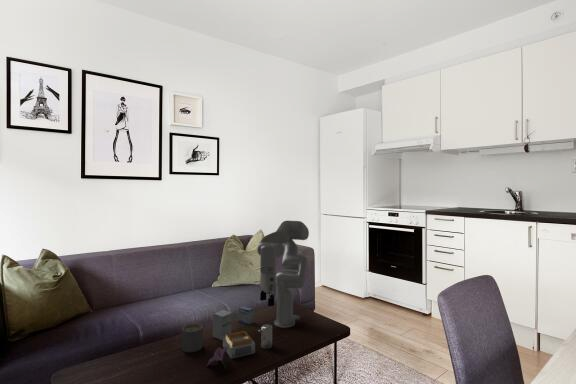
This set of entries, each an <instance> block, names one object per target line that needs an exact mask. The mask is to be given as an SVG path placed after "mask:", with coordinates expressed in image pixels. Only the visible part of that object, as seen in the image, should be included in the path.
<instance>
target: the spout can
mask: <svg viewBox="0 0 576 384" xmlns="http://www.w3.org/2000/svg"><path fill="white" fill-rule="evenodd" d="M257 332H258V333H260V335H261V336H260V337H261V339H260V340H261V341H260V342H261V343H260V347H261V348H262V349H264V350H269V349H271V348H272V347H273V325H272V324H262V326H261V329H259V330H257Z"/></svg>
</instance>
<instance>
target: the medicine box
mask: <svg viewBox="0 0 576 384" xmlns="http://www.w3.org/2000/svg"><path fill="white" fill-rule="evenodd" d="M238 323H240V324H244V325H249V326H250V325H251V324H253V323H254V308H252V307H249V306H248V307H247V306H243V305H242V306H240V307H239V308H238Z"/></svg>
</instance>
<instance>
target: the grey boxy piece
mask: <svg viewBox="0 0 576 384" xmlns="http://www.w3.org/2000/svg"><path fill="white" fill-rule="evenodd" d="M228 345H229V346H228ZM226 346H228V347H227V348H229V349H228V350H227V351H225V353H227V355H228V356H229V358H230V359H231V360H232V359H236V358H240V357H245V356H249V355H253V354H255V353H256V343H255V341H254V340H253V339H252V337H251V336H250V335H249V334H248V332H247V331H245V330H242V331H237V332H232V333H231V334H226V336H223V340H222V348H223V349H224V348H225V347H226Z"/></svg>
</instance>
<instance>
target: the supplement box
mask: <svg viewBox="0 0 576 384" xmlns="http://www.w3.org/2000/svg"><path fill="white" fill-rule="evenodd" d="M232 322H233V312H231V311H227V310H226V309H225V310H224V309H222V310H220V311H216V312H215V313H212V338H213V337H214V338H216V339H218V340H220V341H223V336H226V334H231V333H233V332H232V328H233V327H232V326H233V324H232Z"/></svg>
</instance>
